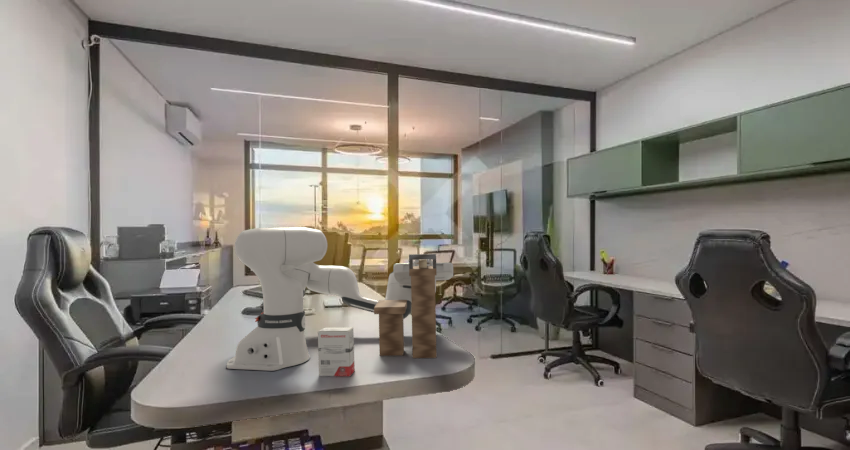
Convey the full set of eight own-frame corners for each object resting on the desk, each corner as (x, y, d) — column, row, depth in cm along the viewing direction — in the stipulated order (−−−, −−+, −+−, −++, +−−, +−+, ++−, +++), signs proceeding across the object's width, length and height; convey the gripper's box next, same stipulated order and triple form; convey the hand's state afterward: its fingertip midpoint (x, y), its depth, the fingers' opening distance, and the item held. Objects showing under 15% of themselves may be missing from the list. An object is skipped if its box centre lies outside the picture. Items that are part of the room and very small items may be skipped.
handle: (418, 268, 123) (418, 260, 123) (419, 264, 138) (419, 257, 138) (426, 268, 123) (426, 260, 123) (426, 264, 138) (426, 257, 138)
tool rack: (375, 358, 121) (373, 255, 121) (379, 346, 134) (378, 253, 134) (438, 357, 121) (436, 254, 121) (437, 345, 134) (435, 252, 134)
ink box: (355, 370, 111) (354, 326, 111) (350, 376, 106) (349, 330, 106) (324, 370, 112) (323, 326, 112) (317, 376, 107) (317, 330, 107)
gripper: (453, 286, 144) (455, 269, 132) (395, 287, 144) (391, 270, 132) (452, 269, 148) (454, 251, 136) (395, 270, 148) (392, 253, 136)
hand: (423, 261), depth 134 cm, fingers closed on handle, 2 cm apart
